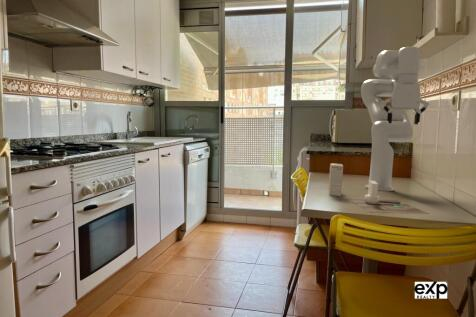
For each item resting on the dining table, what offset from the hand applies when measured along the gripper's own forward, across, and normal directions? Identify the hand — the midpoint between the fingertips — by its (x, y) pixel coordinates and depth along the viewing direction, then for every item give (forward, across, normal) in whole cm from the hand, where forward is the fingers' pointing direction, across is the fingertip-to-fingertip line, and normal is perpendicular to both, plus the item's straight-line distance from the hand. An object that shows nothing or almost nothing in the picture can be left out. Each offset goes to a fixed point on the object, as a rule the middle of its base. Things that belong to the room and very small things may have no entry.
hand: (402, 123), depth 143 cm
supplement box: (+31, -24, -6) cm, 39 cm away
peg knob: (+29, -8, -18) cm, 35 cm away
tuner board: (+30, -8, -20) cm, 37 cm away
